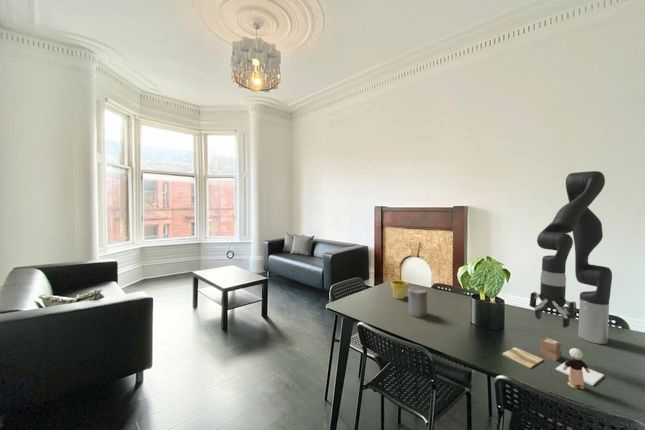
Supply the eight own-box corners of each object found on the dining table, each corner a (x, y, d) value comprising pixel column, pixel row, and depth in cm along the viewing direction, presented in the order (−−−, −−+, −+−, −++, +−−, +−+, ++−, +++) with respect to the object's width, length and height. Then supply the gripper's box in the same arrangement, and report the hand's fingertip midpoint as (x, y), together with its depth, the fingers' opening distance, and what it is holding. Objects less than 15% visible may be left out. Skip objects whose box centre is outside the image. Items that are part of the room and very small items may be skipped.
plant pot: (409, 296, 177) (409, 281, 176) (405, 301, 168) (405, 285, 167) (393, 293, 182) (393, 279, 182) (388, 298, 173) (388, 283, 173)
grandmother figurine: (579, 381, 92) (581, 345, 92) (591, 389, 89) (592, 351, 88) (558, 382, 92) (559, 346, 92) (568, 390, 88) (570, 352, 88)
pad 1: (514, 348, 114) (514, 346, 114) (543, 360, 105) (543, 359, 105) (501, 354, 109) (501, 353, 109) (530, 368, 100) (530, 366, 100)
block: (546, 351, 111) (546, 337, 111) (561, 357, 107) (561, 342, 106) (540, 354, 109) (540, 340, 108) (555, 361, 104) (555, 345, 104)
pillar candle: (424, 310, 154) (424, 284, 153) (429, 317, 144) (429, 290, 143) (406, 310, 154) (406, 284, 154) (410, 317, 145) (410, 290, 144)
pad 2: (567, 361, 104) (567, 360, 104) (603, 376, 95) (603, 374, 95) (555, 369, 99) (555, 368, 99) (592, 385, 90) (592, 384, 90)
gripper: (580, 286, 102) (579, 328, 102) (536, 276, 114) (535, 314, 115) (572, 289, 98) (570, 332, 99) (527, 279, 111) (526, 318, 111)
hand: (551, 322), depth 107 cm, fingers open, 8 cm apart
